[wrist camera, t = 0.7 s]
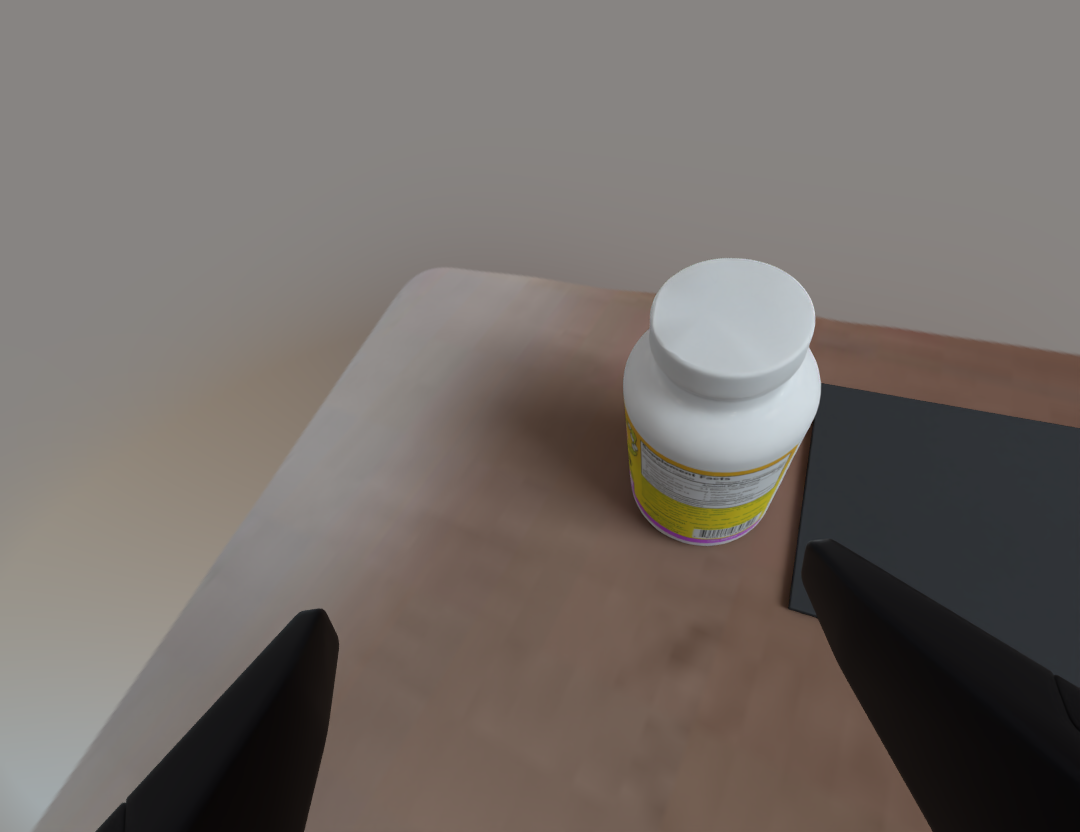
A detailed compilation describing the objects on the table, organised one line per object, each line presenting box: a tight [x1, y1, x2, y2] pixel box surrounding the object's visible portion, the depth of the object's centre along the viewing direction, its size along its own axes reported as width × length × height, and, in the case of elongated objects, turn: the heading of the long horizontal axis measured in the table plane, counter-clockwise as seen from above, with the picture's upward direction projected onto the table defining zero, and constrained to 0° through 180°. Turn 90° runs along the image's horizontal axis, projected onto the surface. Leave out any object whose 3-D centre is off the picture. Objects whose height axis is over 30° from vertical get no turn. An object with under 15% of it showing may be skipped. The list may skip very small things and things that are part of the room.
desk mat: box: [788, 383, 1080, 688], centre depth 22 cm, size 20×12×1 cm, turn 70°
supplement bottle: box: [623, 258, 821, 546], centre depth 21 cm, size 7×7×13 cm
